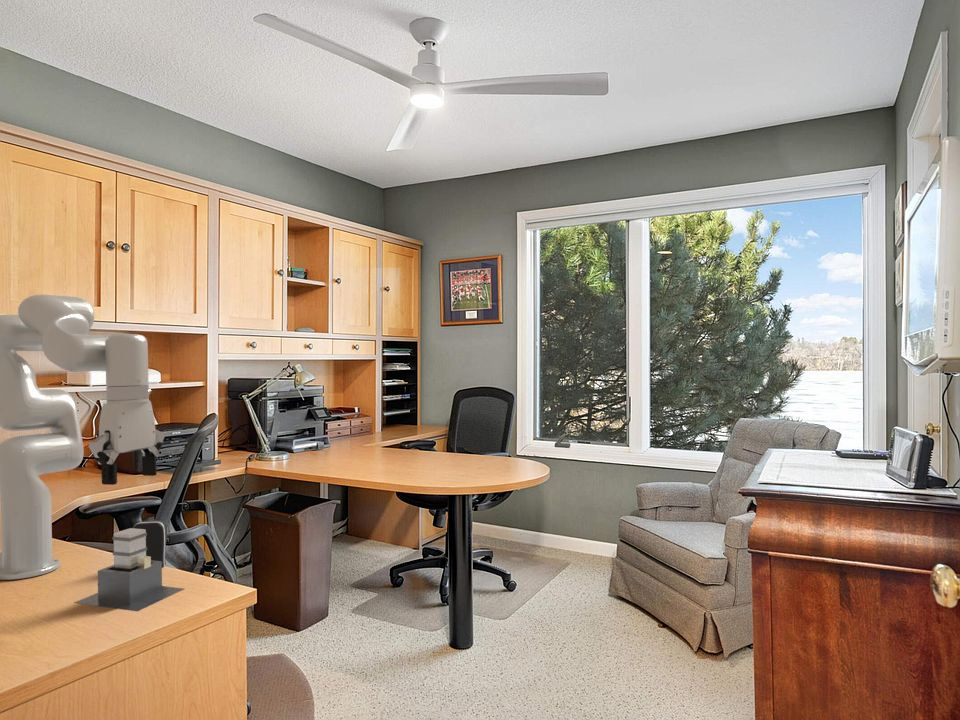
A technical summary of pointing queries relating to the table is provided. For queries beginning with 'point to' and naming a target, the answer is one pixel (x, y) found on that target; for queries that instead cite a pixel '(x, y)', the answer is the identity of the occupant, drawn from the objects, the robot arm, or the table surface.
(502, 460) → the table surface
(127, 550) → the column
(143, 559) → the stand
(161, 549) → the battery charger
